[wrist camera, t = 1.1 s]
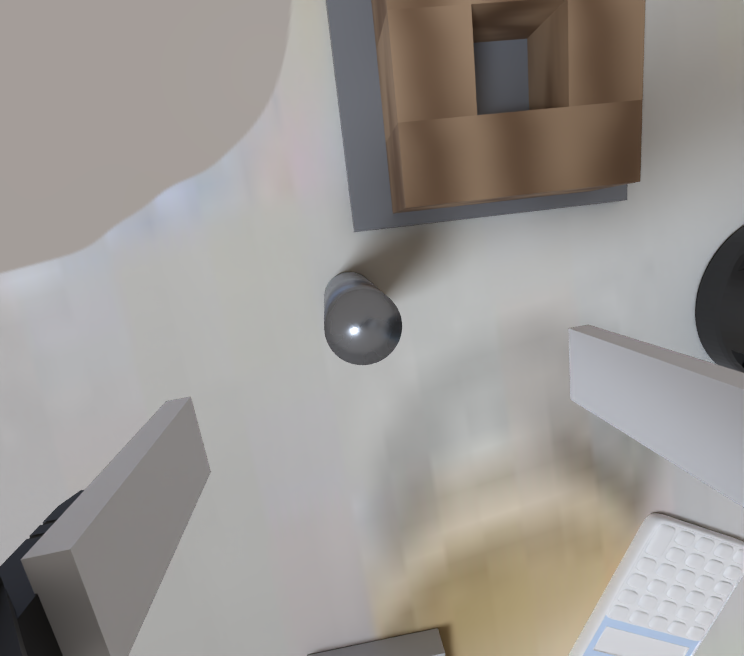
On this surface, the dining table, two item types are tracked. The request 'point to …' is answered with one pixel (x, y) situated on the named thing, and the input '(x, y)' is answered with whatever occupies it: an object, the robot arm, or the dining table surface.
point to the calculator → (664, 591)
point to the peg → (360, 320)
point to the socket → (486, 105)
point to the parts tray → (395, 646)
